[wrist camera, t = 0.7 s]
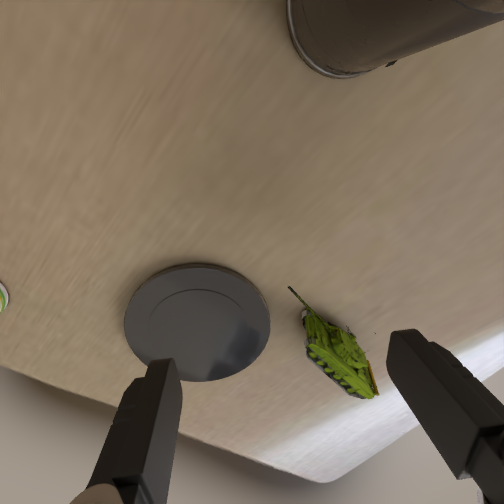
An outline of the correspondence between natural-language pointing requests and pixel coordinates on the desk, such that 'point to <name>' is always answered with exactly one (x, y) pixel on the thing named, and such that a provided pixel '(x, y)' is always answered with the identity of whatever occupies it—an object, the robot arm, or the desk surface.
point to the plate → (198, 321)
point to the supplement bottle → (3, 298)
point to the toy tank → (337, 355)
